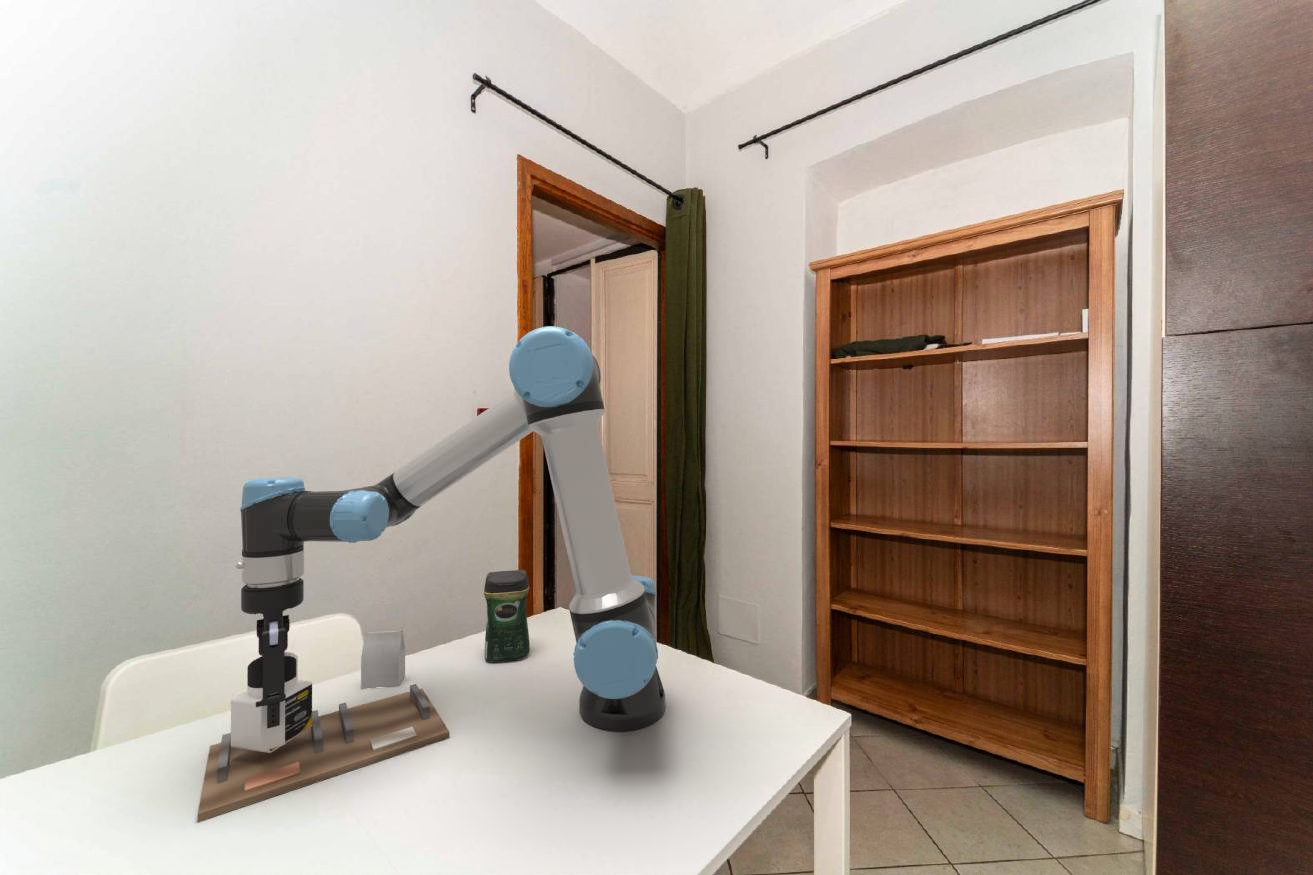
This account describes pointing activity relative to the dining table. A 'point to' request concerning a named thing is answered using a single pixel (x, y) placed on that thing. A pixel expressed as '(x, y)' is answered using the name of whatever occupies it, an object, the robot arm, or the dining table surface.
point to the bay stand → (319, 751)
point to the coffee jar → (506, 616)
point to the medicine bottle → (249, 715)
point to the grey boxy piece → (383, 659)
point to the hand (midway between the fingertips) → (272, 730)
